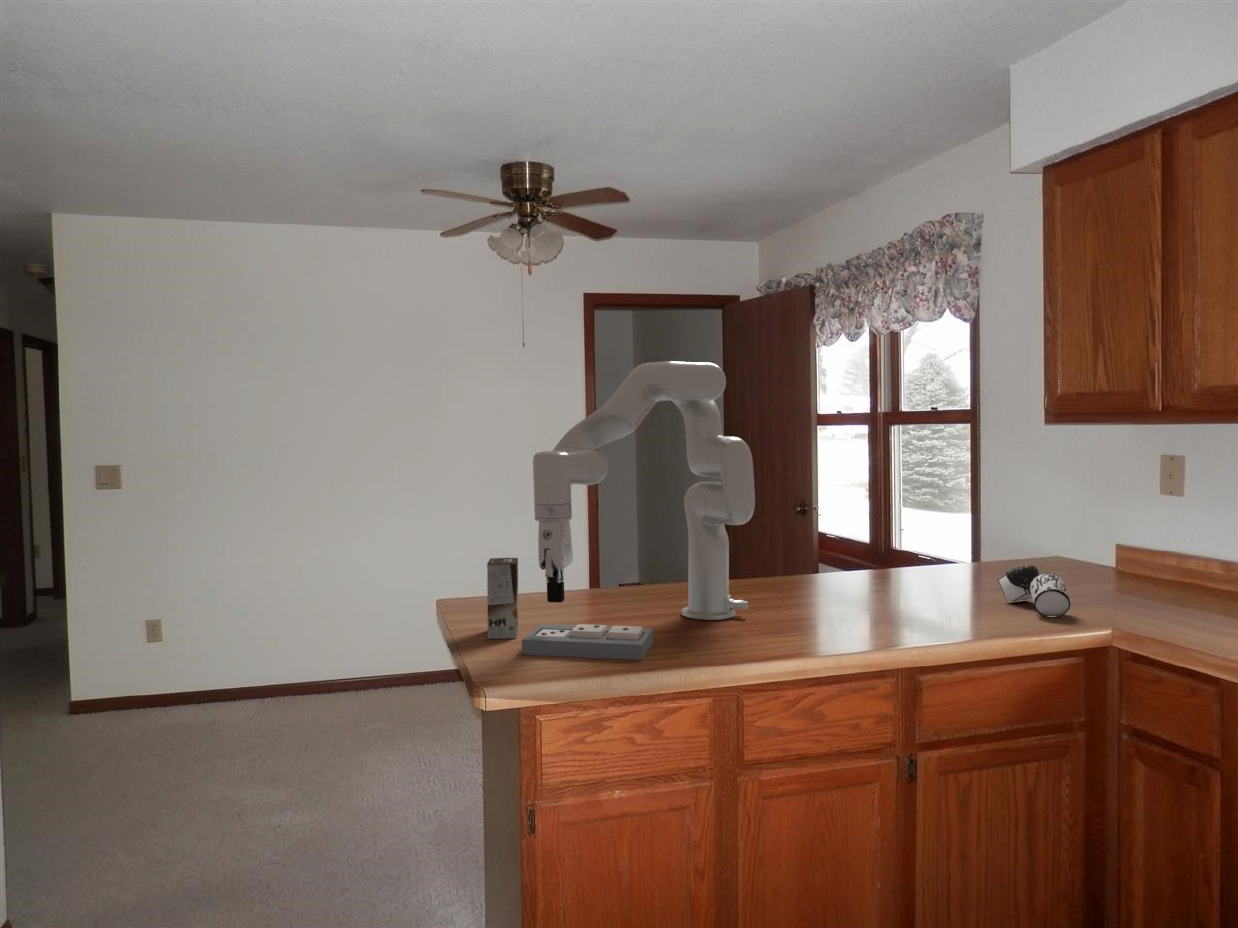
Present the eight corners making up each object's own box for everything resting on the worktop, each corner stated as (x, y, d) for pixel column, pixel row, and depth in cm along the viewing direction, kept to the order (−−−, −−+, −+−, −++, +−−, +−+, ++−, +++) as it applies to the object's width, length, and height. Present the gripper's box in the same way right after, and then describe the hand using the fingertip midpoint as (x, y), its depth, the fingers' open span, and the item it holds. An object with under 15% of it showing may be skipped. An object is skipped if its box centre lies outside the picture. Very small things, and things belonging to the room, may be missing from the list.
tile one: (642, 636, 183) (642, 625, 183) (637, 643, 178) (637, 632, 177) (613, 635, 185) (613, 624, 184) (608, 642, 179) (608, 631, 179)
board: (652, 642, 187) (652, 628, 187) (642, 660, 173) (642, 644, 173) (541, 637, 192) (541, 623, 191) (522, 654, 178) (521, 639, 178)
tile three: (571, 639, 186) (570, 629, 186) (563, 646, 180) (563, 635, 180) (542, 638, 187) (542, 628, 187) (534, 645, 181) (534, 634, 181)
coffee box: (517, 638, 191) (517, 563, 190) (487, 639, 190) (486, 563, 190) (518, 629, 200) (518, 557, 199) (489, 629, 200) (489, 557, 199)
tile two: (606, 634, 185) (606, 624, 185) (600, 641, 179) (600, 630, 179) (578, 633, 186) (578, 623, 186) (571, 640, 180) (571, 629, 180)
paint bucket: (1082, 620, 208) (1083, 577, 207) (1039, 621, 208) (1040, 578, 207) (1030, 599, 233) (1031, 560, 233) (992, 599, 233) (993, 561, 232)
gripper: (562, 516, 175) (565, 610, 176) (579, 507, 189) (582, 593, 191) (524, 516, 176) (527, 609, 177) (544, 507, 191) (547, 593, 192)
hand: (556, 601), depth 184 cm, fingers closed
